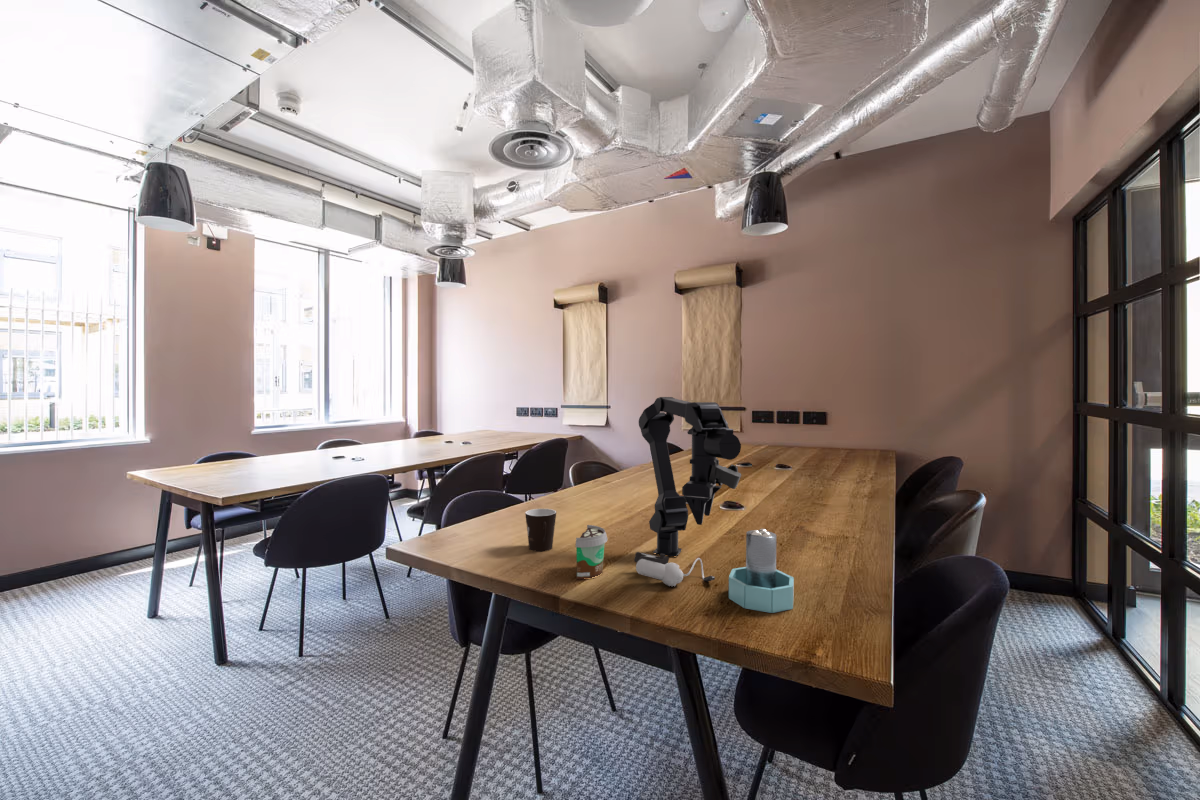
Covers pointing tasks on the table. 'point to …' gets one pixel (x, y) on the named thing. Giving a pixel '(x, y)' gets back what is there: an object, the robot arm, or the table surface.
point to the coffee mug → (540, 529)
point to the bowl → (761, 592)
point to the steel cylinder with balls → (761, 558)
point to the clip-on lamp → (663, 568)
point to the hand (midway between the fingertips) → (703, 519)
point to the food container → (590, 552)
